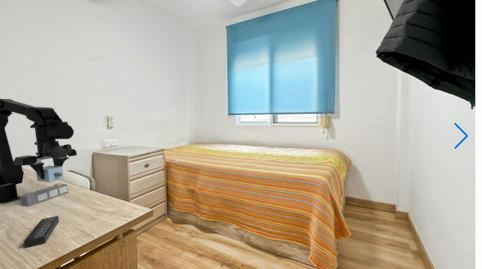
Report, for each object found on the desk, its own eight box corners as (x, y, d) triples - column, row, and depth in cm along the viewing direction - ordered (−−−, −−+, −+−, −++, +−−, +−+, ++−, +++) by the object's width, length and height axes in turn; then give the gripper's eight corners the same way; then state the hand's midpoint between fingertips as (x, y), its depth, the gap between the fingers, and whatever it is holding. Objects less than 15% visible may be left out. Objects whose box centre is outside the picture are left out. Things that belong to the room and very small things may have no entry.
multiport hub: (24, 249, 58) (22, 242, 58) (42, 225, 71) (41, 218, 71) (45, 244, 60) (44, 237, 60) (59, 221, 73) (58, 215, 73)
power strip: (21, 205, 86) (19, 193, 85) (62, 191, 100) (60, 181, 100) (28, 206, 85) (27, 194, 84) (68, 192, 99) (67, 182, 98)
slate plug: (34, 180, 86) (32, 168, 85) (48, 176, 90) (47, 165, 90) (54, 182, 82) (53, 170, 82) (68, 178, 87) (67, 166, 86)
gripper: (30, 143, 73) (36, 186, 75) (84, 136, 91) (87, 172, 93) (10, 142, 77) (16, 184, 78) (65, 136, 94) (69, 170, 96)
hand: (50, 177), depth 86 cm, fingers closed on slate plug, 5 cm apart
